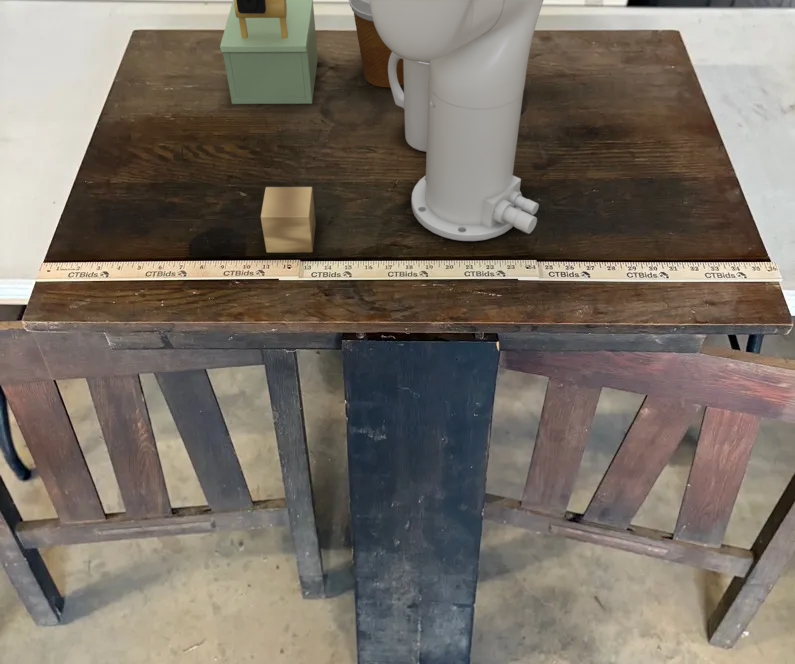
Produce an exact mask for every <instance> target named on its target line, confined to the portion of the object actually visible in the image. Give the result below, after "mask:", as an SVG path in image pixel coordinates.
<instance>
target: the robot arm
mask: <svg viewBox="0 0 795 664" xmlns="http://www.w3.org/2000/svg"><path fill="white" fill-rule="evenodd" d="M236 1H237V8H238V12H239V13H242V14H263V13H265V11H266V4H265V0H236ZM543 3H544V0H370V9H371V14H372V19H373V22H374V25H375V28H376V30H377V32H378V34H379V36H380V38H381V39H382V41H383V42H384V43H385V45H386V46H387V47H388V48H389V49H390V50H391V51H392V52H394V53H395V54H397V55H398V56H400V57H402V58H405V59H408V60H411V61H417V62H425V61H430V65H429V82H428V115H427V150H426V152H425V153H426V154H425V155H426V156H425V175H423V177H422V178H420V179H419V180H418V181H417V182H416V184H415V185H414V187H413V189H412V193H411V202H410V203H411V211H412V213H413V216H414V217H415V219H416V220H417V222H418V223H419V224H421V225H422V227H423V228H425V229H427V230H428V231H430V232H431V233H433V234H435V235H437V236H440V237H443V238H445V239H450V240H452V241H459V242H478V241H486V240H490V239H493V238H497V237H499V236H501V235H504V234H505V233H506V232H508V231H510V230H511V229H512V228H513V227H514V228H515V229H517V230H520V231H521V232H523V233H526V234H531V233H532V232H533V231H534V230H535V227H536V226H537V223H538V218H537V217H536V216H534V215H535V214H536V213H537V212H538V210H539V207H540V204H539V203H538V202H536V201H534V200H532V199H530V198H526V197H524V196H523V194H522V192H521V190H520V189H521V182H522V179H521V178H520V177H518V176H516V175H514V167H515V161H516V160H515V159H516V154H517V153H516V152H517V145H518V137H519V130H520V129H519V128H520V122H521V121H520V120H521V114H522V105H523V99H524V98H523V97H524V90H525V85H526V78H527V77H526V76H527V71H528V64H529V58H530V57H529V56H530V51H531V46H532V42H533V38H534V33H535V29H536V27H537V23H538V19H539V16H540V13H541V9H542V7H543Z"/></svg>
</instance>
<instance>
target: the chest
mask: <svg viewBox="0 0 795 664" xmlns="http://www.w3.org/2000/svg"><path fill="white" fill-rule="evenodd" d="M317 44H318V43H317V31H316V20H315V10H314V7H313V9H312V16H311V23H310V30H309V37H308V44H307V51H306V52H222V56H223V61H224V67H225V72H226V78H227V79H226V80H227V84H228V89H229V95H230V101H231V104H232V105H271V104H272V105H276V104H277V105H281V104H282V105H285V104H286V105H288V104H289V105H290V104H291V105H293V104H294V105H295V104H297V105H299V104H301V105H303V104H307V105H308V104H309V105H311V104H313V101H314V91H315V83H316V75H317V67H318V60H319V59H318V58H319V56H318V45H317Z"/></svg>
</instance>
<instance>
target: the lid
mask: <svg viewBox="0 0 795 664" xmlns="http://www.w3.org/2000/svg"><path fill="white" fill-rule="evenodd" d="M265 4H266V11H265V13H263V14H242V13H239V12H238V8H237V1H236V0H232V2H231V7H230V11H229V13H228V17H227V20H226V25H225V27H224V31H223V34H222V38H221V41H220V44H219V48H220V53H223V52H306V51H307V44H308V37H309V30H310V23H311V16H312V9H313V8H314V0H265Z"/></svg>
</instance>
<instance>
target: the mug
mask: <svg viewBox="0 0 795 664" xmlns="http://www.w3.org/2000/svg"><path fill="white" fill-rule="evenodd" d="M399 59H403V67H404V83H403V89H402V87H401V85H399V82H398V79H397V73H396V67H397V63H398V61H399ZM429 65H430V61H425V62H417V61H411V60H408V59H405V58H402V57H400V56H398V55H397V54H395V53H394V52H392V53H391V55H390V58H389V62H388V77H389V82H390V86H391V87H390V90H391V93H392V97H393V101H394V104H395V105H396V106H397V107H400V108H402V109H403V110H404V137H405V141H406V143H407V144H408V145H409V146H410V147H412V148H413V149H414V150H417V151H421V152H425V153H426V150H427V115H428V82H429Z"/></svg>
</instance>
